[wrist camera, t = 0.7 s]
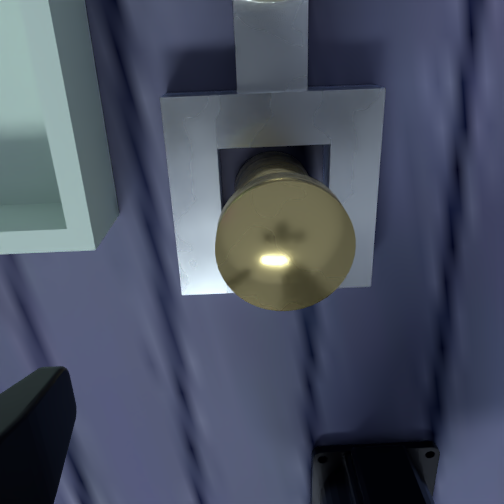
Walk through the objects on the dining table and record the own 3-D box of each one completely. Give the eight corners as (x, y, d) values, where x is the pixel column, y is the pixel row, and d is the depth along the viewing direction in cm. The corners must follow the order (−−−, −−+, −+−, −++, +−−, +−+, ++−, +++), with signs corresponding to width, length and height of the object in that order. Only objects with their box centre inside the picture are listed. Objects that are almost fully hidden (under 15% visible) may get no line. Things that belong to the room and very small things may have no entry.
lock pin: (321, 232, 20) (352, 308, 14) (225, 237, 20) (219, 313, 14) (323, 135, 18) (359, 178, 13) (218, 140, 18) (209, 185, 13)
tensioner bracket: (362, 269, 21) (378, 300, 18) (185, 277, 20) (178, 309, 18) (397, -281, 13) (431, -349, 11) (127, -271, 13) (103, -337, 11)
